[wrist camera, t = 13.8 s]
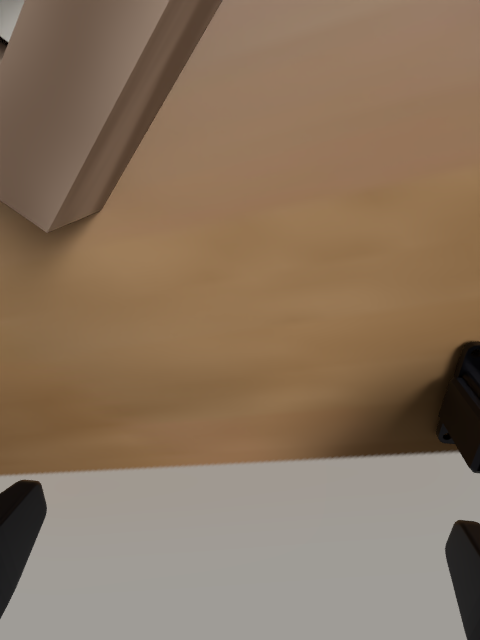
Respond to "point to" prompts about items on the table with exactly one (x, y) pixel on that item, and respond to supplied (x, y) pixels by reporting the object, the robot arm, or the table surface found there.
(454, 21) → the table surface
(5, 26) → the white square tile
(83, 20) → the holder
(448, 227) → the table surface
